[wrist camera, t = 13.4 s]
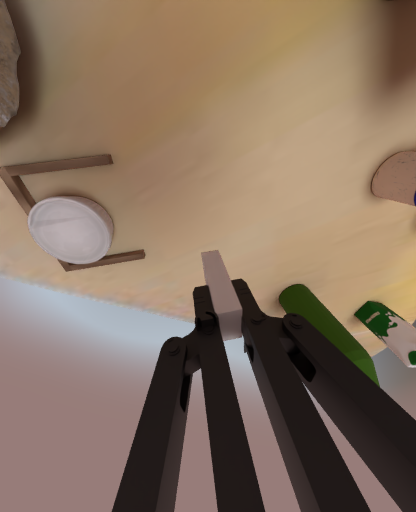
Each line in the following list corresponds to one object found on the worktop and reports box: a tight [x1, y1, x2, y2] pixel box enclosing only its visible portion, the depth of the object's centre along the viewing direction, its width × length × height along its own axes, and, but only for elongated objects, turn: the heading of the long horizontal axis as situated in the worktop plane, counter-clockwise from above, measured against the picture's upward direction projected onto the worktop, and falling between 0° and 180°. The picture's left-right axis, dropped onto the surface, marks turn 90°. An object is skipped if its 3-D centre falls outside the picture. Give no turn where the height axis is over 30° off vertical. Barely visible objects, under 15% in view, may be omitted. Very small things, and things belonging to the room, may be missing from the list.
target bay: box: [0, 155, 145, 272], centre depth 31 cm, size 18×15×2 cm
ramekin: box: [28, 196, 113, 264], centre depth 29 cm, size 11×11×5 cm
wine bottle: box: [279, 284, 380, 387], centre depth 38 cm, size 9×9×32 cm
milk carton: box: [354, 301, 416, 367], centre depth 54 cm, size 9×9×20 cm
